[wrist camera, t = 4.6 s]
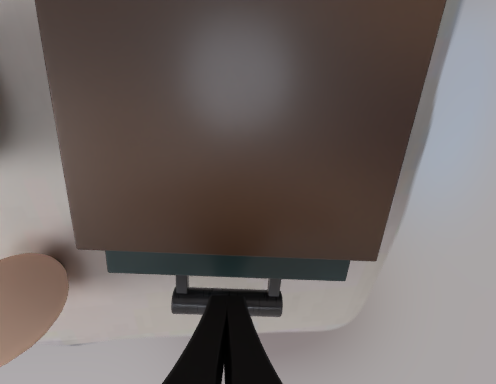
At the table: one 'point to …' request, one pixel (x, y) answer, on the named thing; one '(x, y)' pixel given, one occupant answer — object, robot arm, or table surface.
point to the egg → (29, 300)
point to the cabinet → (235, 121)
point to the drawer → (226, 266)
